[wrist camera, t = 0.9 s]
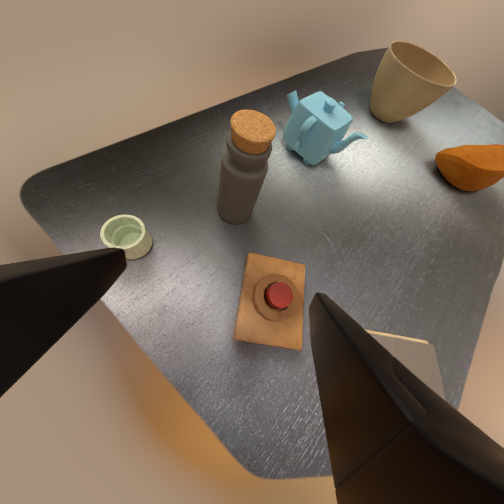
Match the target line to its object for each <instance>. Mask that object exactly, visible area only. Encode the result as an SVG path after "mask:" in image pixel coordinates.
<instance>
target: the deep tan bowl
mask: <svg viewBox="0 0 504 504" xmlns="http://www.w3.org/2000/svg"><path fill="white" fill-rule="evenodd" d="M455 83H456V77H455V75H454V73H453V72H452V70H451V69H450V68H449V67H448V66H447V65H446V64H445V63H444V62H443V61H442V60H441V59H439V58H438V57H437V56H435V55H434V54H432V53H431V52H429V51H427V50H425V49H424V48H422V47H419V46H417V45H415V44H412V43H409V42H405V41H394V42H392V43H391V44H390V46H389V48H388V49H387V51H386V53H385V55H384V57H383V59H382V61H381V63H380V66H379V68H378V71H377V73H376V76H375V79H374V83H373V87H372V91H371V99H370V110H371V112H372V114H373V115H374V116H375V117H376V118H378V119H379V120H381V121H383V122H386V123H393V122H396V121H399V120H402V119H405V118H407V117H410V116H412V115H414V114H416V113H418V112H419V111H421V110H423V109H424V108H426V107H427V106H429V105H430V104H432V103H433V102H435V101H436V100H437V99H439V98H440V97H441V96H442V95H444V94H445V93H446V92H447V91H448V90H449V89H450V88H452V87H453V85H455Z"/></svg>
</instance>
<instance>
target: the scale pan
mask: <svg viewBox="0 0 504 504" xmlns="http://www.w3.org/2000/svg"><path fill="white" fill-rule="evenodd" d="M369 334H370V335H371V336H372V337H373V338H374V339H376V340H377V341H378V342H379V343H380V344H381V345H382V346H383V347H384V348H385V349H387V350H388V351H389V352H390V353H391V354H392V357H393V356H394V357H395V358H397V359H398V360H399V361H400V362H401V363H402V364H403V365H404V366H405V367H406V368H408V369H409V370H410V371H411V372H412V373H413V374H414V375H416V376H417V377H418V378H419V379H420V380H421V381H422V382H424V383H425V384H426V385H427V386H428V387H430V388H431V389H432V390H433V391H434V392H436V393H437V394H438V395H439V396H440V397H442V398H443V399H444V400H445V401H446V399H445V395H444V390H443V385H442V381H441V376H440V372H439V367H438V363H437V358H436V354H435V349H434V345H432V344H426V343H421V342H415V341H410V340H404V339H399V338H393V337H388V336H382V335H377V334H372V333H369Z"/></svg>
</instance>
